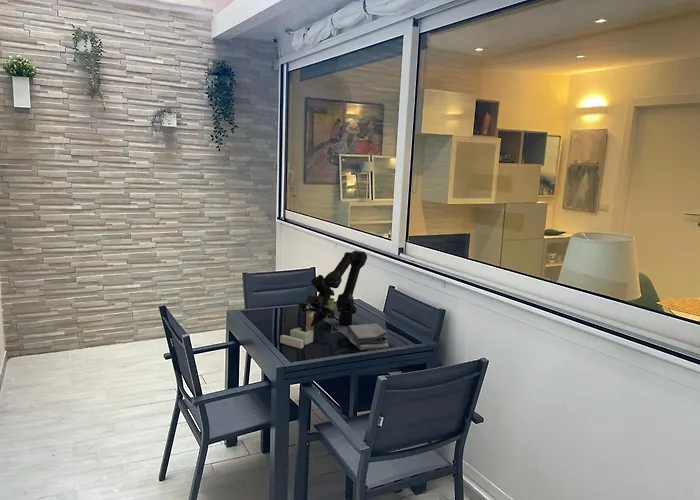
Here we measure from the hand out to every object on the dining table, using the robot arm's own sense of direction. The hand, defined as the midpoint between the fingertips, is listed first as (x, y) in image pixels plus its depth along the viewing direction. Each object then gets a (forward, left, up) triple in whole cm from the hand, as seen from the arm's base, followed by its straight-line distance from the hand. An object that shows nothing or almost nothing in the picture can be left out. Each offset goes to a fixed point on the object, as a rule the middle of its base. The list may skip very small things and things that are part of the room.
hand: (308, 325), depth 235 cm
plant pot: (+1, -42, -7) cm, 43 cm away
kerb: (+5, +10, -7) cm, 13 cm away
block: (+2, +4, -6) cm, 8 cm away
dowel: (-1, -1, -7) cm, 7 cm away
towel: (-28, -2, -7) cm, 29 cm away
